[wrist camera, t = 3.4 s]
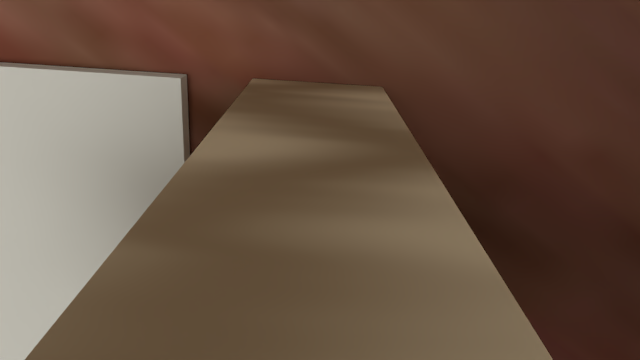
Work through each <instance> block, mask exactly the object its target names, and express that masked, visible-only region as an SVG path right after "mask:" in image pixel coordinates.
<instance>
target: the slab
mask: <svg viewBox="0 0 640 360" xmlns="http://www.w3.org/2000/svg"><path fill="white" fill-rule="evenodd" d="M25 360H553V359H552V357H551V356H550V354H549V353H548V351H547V349H546V348H545V346H544V345H543V343H542V341H541V340H540V338H539V337H538V335H537V333H536V332H535V330H534V329H533V327H532V325H531V324H530V322H529V321H528V319H527V317H526V316H525V314H524V313H523V311H522V310H521V308H520V306H519V305H518V303H517V302H516V300H515V298H514V297H513V295H512V294H511V292H510V290H509V289H508V287H507V286H506V284H505V282H504V281H503V279H502V278H501V276H500V274H499V273H498V271H497V270H496V268H495V266H494V265H493V263H492V262H491V260H490V258H489V257H488V255H487V254H486V252H485V250H484V249H483V247H482V246H481V244H480V242H479V241H478V239H477V238H476V236H475V234H474V233H473V231H472V230H471V228H470V226H469V225H468V223H467V222H466V220H465V218H464V217H463V215H462V214H461V212H460V210H459V209H458V207H457V206H456V204H455V202H454V201H453V199H452V198H451V196H450V194H449V193H448V191H447V190H446V188H445V186H444V185H443V183H442V182H441V180H440V178H439V177H438V175H437V174H436V172H435V170H434V169H433V167H432V166H431V164H430V162H429V161H428V159H427V158H426V156H425V154H424V153H423V151H422V150H421V148H420V146H419V145H418V143H417V142H416V140H415V138H414V137H413V135H412V134H411V132H410V130H409V129H408V127H407V126H406V124H405V122H404V121H403V119H402V118H401V116H400V114H399V113H398V111H397V110H396V108H395V106H394V105H393V103H392V102H391V100H390V98H389V97H388V95H387V94H386V92H385V90H384V89H383V87H379V86H363V85H348V84H332V83H316V82H301V81H285V80H270V79H254V78H253V79H252V80H251V81H250V83H249V84H248V85H247V86H246V87H245V89H244V90H243V91H242V92H241V94H240V95H239V96H238V97H237V99H236V100H235V101H234V102H233V104H232V105H231V106H230V107H229V108H228V110H227V111H226V112H225V113H224V115H223V116H222V117H221V118H220V120H219V121H218V122H217V123H216V124H215V126H214V127H213V128H212V129H211V131H210V132H209V133H208V134H207V136H206V137H205V138H204V139H203V140H202V142H201V143H200V144H199V145H198V147H197V148H196V149H195V150H194V152H193V153H192V154H191V155H190V156H189V158H188V159H187V160H186V161H185V163H184V164H183V165H182V166H181V168H180V169H179V170H178V171H177V172H176V174H175V175H174V176H173V177H172V179H171V180H170V181H169V182H168V184H167V185H166V186H165V187H164V189H163V190H162V191H161V192H160V193H159V195H158V196H157V197H156V198H155V200H154V201H153V202H152V203H151V205H150V206H149V207H148V208H147V209H146V211H145V212H144V213H143V214H142V216H141V217H140V218H139V219H138V221H137V222H136V223H135V224H134V225H133V227H132V228H131V229H130V230H129V232H128V233H127V234H126V235H125V237H124V238H123V239H122V240H121V241H120V243H119V244H118V245H117V246H116V248H115V249H114V250H113V251H112V253H111V254H110V255H109V256H108V257H107V259H106V260H105V261H104V262H103V264H102V265H101V266H100V267H99V269H98V270H97V271H96V272H95V274H94V275H93V276H92V277H91V278H90V280H89V281H88V282H87V283H86V285H85V286H84V287H83V288H82V290H81V291H80V292H79V293H78V294H77V296H76V297H75V298H74V299H73V301H72V302H71V303H70V304H69V306H68V307H67V308H66V309H65V310H64V312H63V313H62V314H61V315H60V317H59V318H58V319H57V320H56V322H55V323H54V324H53V325H52V326H51V328H50V329H49V330H48V331H47V333H46V334H45V335H44V336H43V338H42V339H41V340H40V341H39V342H38V344H37V345H36V346H35V347H34V349H33V350H32V351H31V352H30V354H29V355H28V356H27V357H26V359H25Z"/></svg>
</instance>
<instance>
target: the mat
mask: <svg viewBox="0 0 640 360" xmlns="http://www.w3.org/2000/svg"><path fill="white" fill-rule="evenodd" d="M189 156H190V144H189V118H188V93H187V74H173V73H158V72H142V71H127V70H112V69H97V68H82V67H66V66H51V65H36V64H21V63H6V62H0V360H25V359H26V357H27V356H28V355H29V354H30V352H31V351H32V350H33V349H34V347H35V346H36V345H37V344H38V342H39V341H40V340H41V339H42V338H43V336H44V335H45V334H46V333H47V331H48V330H49V329H50V328H51V326H52V325H53V324H54V323H55V322H56V320H57V319H58V318H59V317H60V315H61V314H62V313H63V312H64V310H65V309H66V308H67V307H68V306H69V304H70V303H71V302H72V301H73V299H74V298H75V297H76V296H77V294H78V293H79V292H80V291H81V290H82V288H83V287H84V286H85V285H86V283H87V282H88V281H89V280H90V278H91V277H92V276H93V275H94V274H95V272H96V271H97V270H98V269H99V267H100V266H101V265H102V264H103V262H104V261H105V260H106V259H107V257H108V256H109V255H110V254H111V253H112V251H113V250H114V249H115V248H116V246H117V245H118V244H119V243H120V241H121V240H122V239H123V238H124V237H125V235H126V234H127V233H128V232H129V230H130V229H131V228H132V227H133V225H134V224H135V223H136V222H137V221H138V219H139V218H140V217H141V216H142V214H143V213H144V212H145V211H146V209H147V208H148V207H149V206H150V205H151V203H152V202H153V201H154V200H155V198H156V197H157V196H158V195H159V193H160V192H161V191H162V190H163V189H164V187H165V186H166V185H167V184H168V182H169V181H170V180H171V179H172V177H173V176H174V175H175V174H176V172H177V171H178V170H179V169H180V168H181V166H182V165H183V164H184V163H185V161H186V160H187V159H188V158H189Z"/></svg>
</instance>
